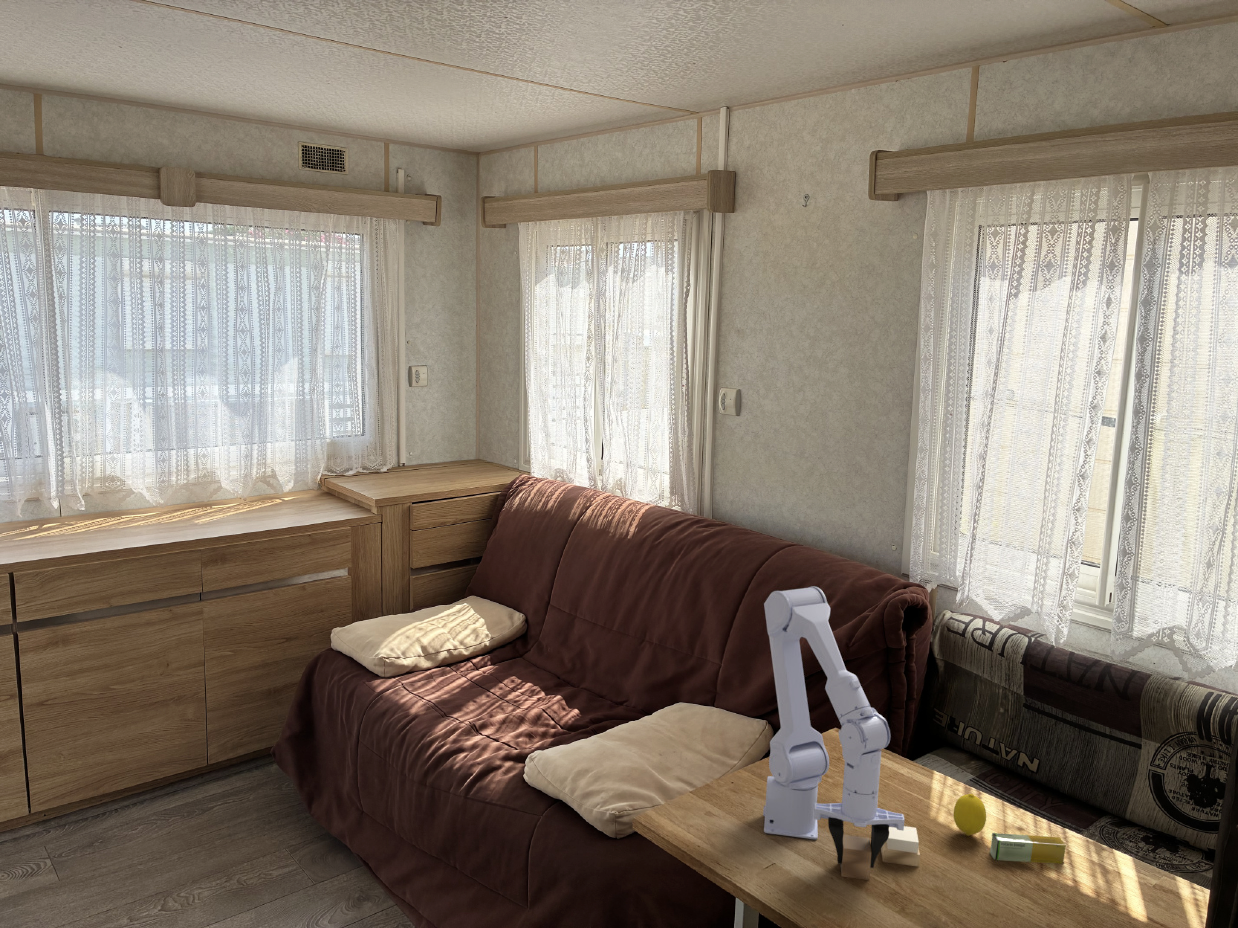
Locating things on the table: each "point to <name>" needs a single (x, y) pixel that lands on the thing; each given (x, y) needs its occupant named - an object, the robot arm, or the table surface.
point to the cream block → (903, 839)
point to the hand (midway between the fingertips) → (855, 862)
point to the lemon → (969, 814)
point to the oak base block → (900, 856)
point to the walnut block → (856, 857)
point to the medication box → (1027, 848)
